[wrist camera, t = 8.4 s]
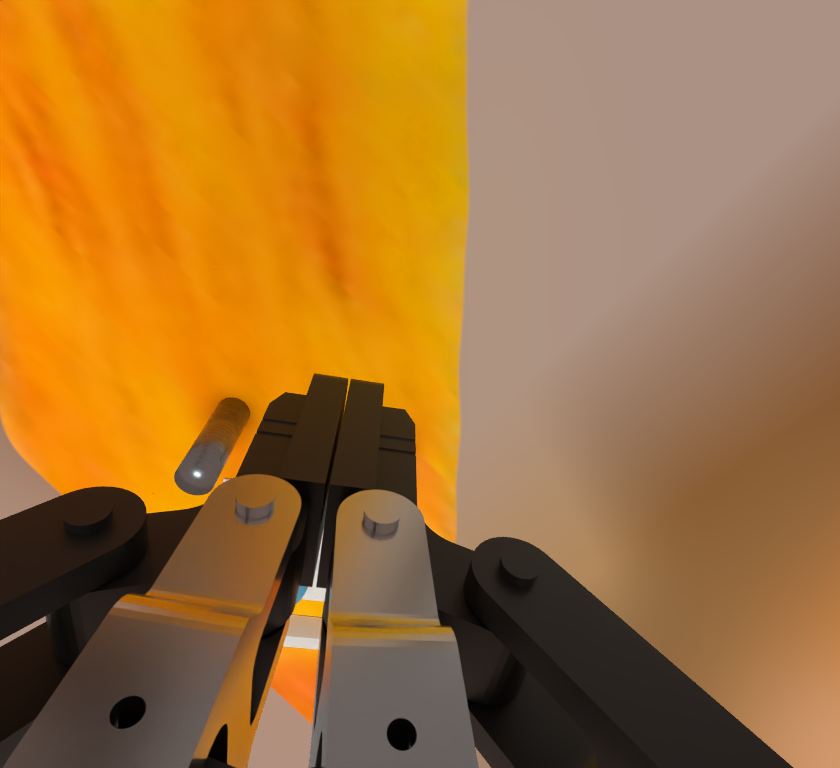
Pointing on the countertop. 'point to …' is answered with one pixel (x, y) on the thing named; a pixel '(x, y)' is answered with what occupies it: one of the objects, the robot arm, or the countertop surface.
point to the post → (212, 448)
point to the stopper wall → (303, 632)
